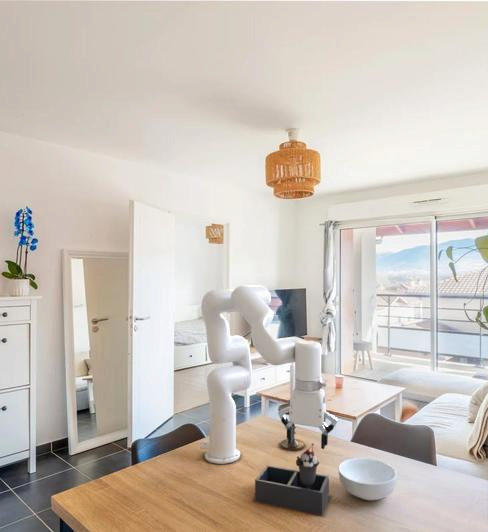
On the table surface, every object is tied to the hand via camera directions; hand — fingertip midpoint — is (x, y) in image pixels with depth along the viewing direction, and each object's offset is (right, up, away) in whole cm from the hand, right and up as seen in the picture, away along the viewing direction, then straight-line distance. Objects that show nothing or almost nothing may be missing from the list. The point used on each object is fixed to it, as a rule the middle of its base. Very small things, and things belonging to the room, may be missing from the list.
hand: (306, 444), depth 115 cm
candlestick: (-1, -18, +38) cm, 42 cm away
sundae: (0, -15, -1) cm, 15 cm away
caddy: (-4, -16, +1) cm, 17 cm away
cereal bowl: (+18, -17, +4) cm, 25 cm away
